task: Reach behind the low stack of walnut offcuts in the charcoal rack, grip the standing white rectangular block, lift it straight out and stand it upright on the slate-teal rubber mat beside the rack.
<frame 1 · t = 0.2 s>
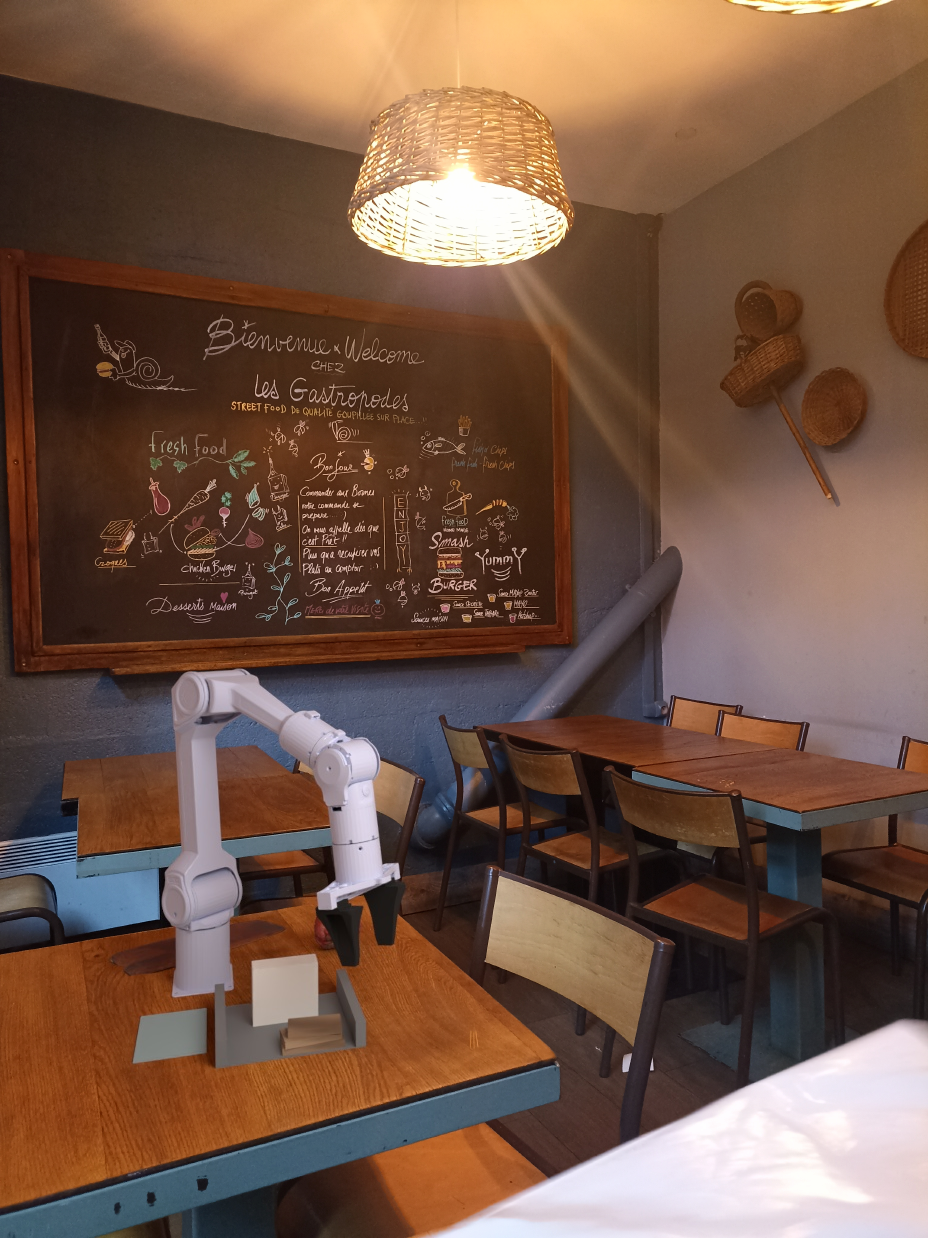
hand: (368, 955, 103), 10 cm above the table, tool pointing down, fingers open, 7 cm apart
wooden tablet: (203, 950, 135), on the table
mat: (172, 1038, 104), on the table
rack: (286, 1030, 106), on the table
offcut stack: (312, 1043, 101), resting on rack
white rectangular block: (284, 1017, 108), resting on rack
rotten apple: (338, 950, 133), on the table
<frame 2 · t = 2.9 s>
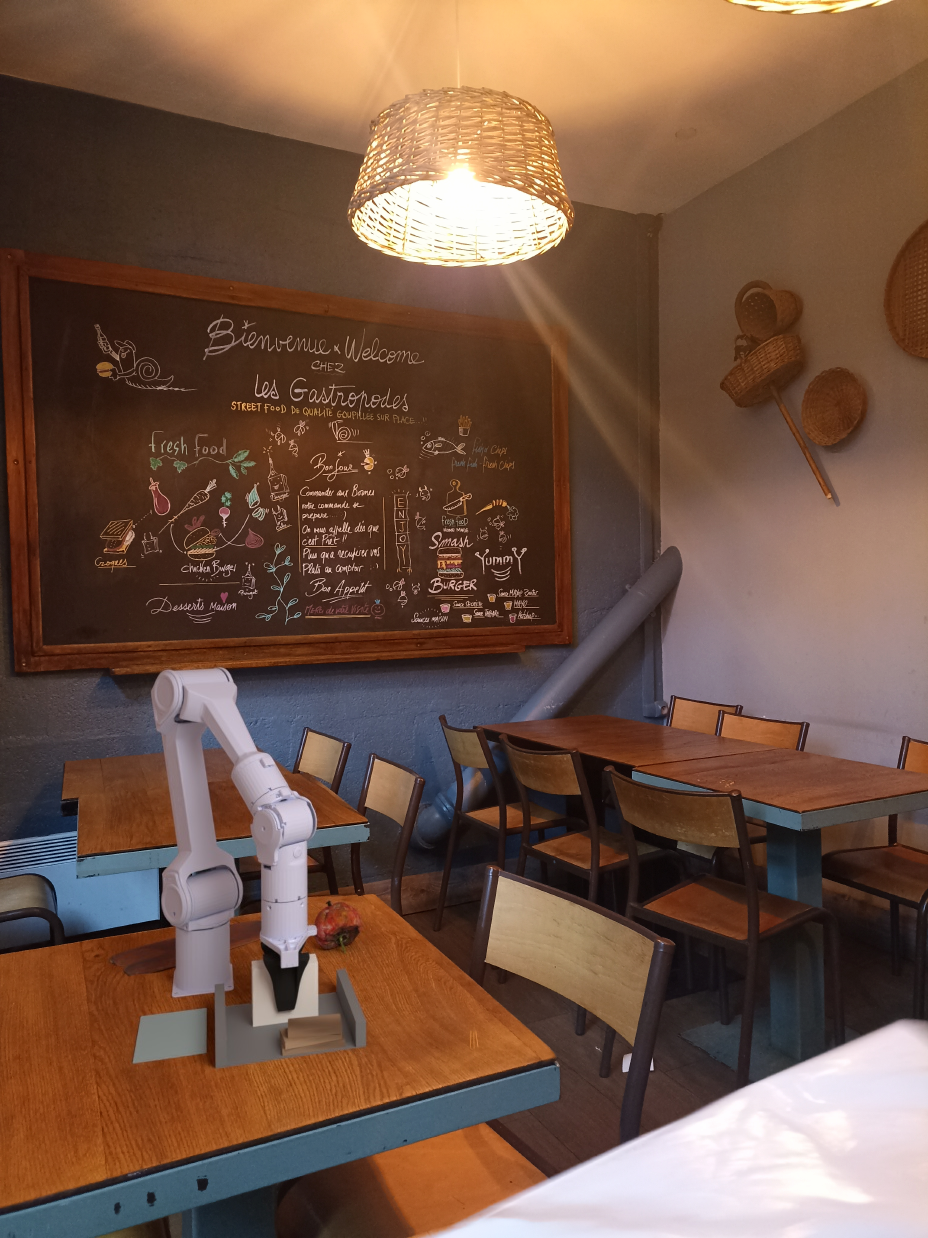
hand: (284, 1003, 108), 2 cm above the table, tool pointing down, fingers closed on white rectangular block, 3 cm apart
white rectangular block: (285, 1017, 108), resting on rack, touching gripper
everything else where it was.
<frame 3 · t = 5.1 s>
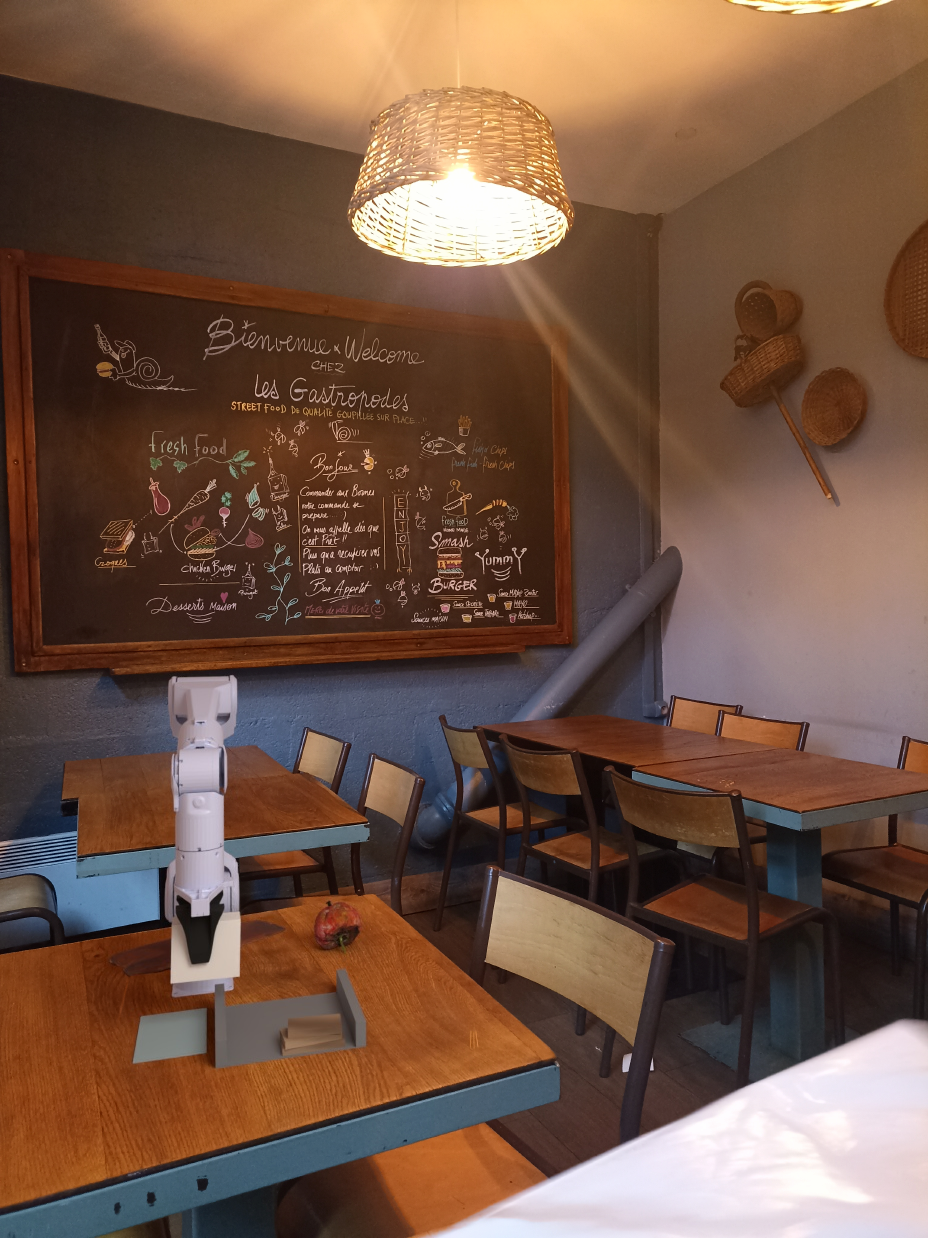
hand: (200, 957, 105), 9 cm above the table, tool pointing down, fingers closed on white rectangular block, 3 cm apart
white rectangular block: (205, 975, 105), point 7 cm above the table, touching gripper
everything else where it was.
when the fingers open (3 cm above the table, at t = 7.3 s): white rectangular block stays where it is, resting on mat.
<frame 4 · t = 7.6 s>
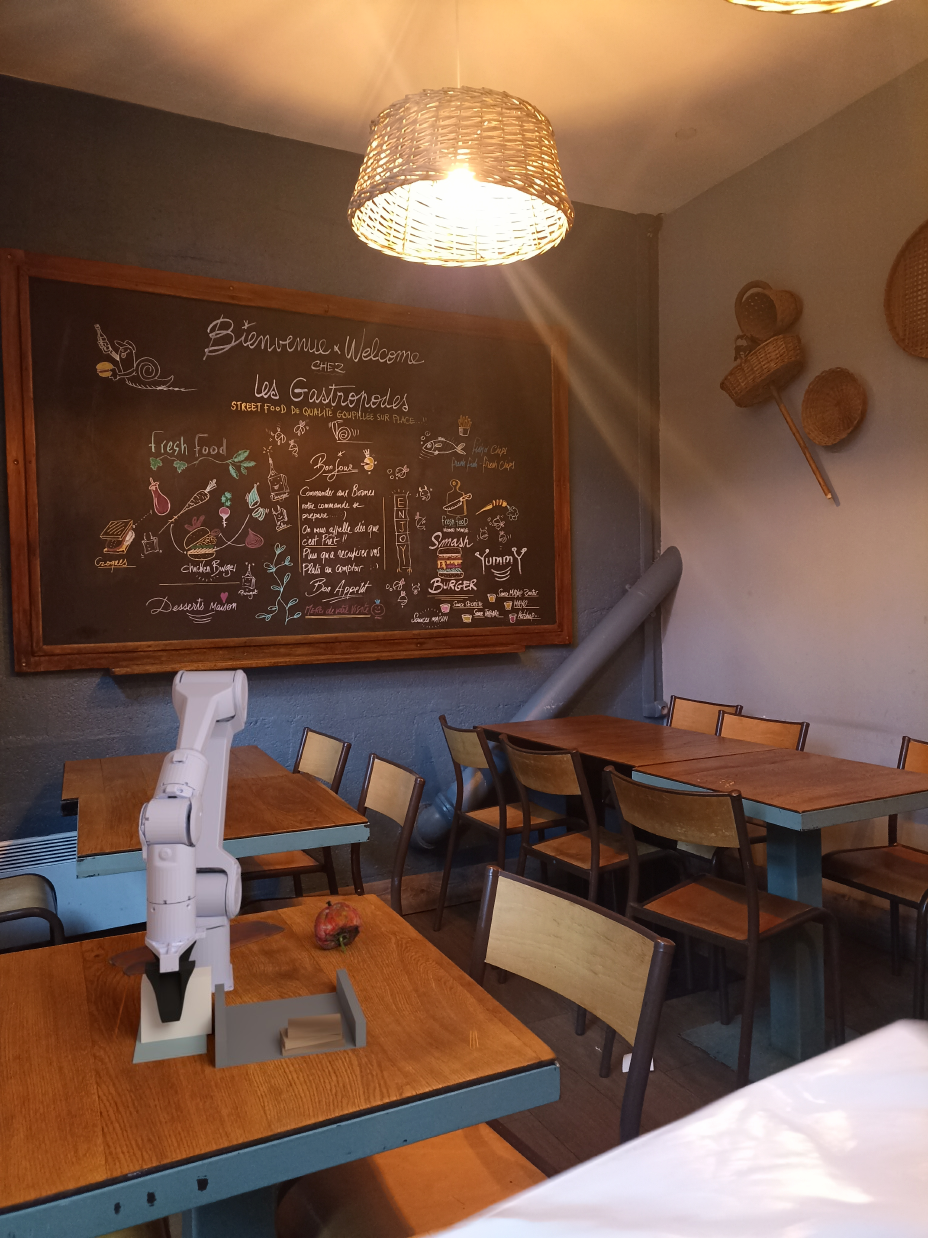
hand: (172, 1009, 104), 4 cm above the table, tool pointing down, fingers open, 6 cm apart
white rectangular block: (177, 1032, 104), point 1 cm above the table, touching mat
everything else where it was.
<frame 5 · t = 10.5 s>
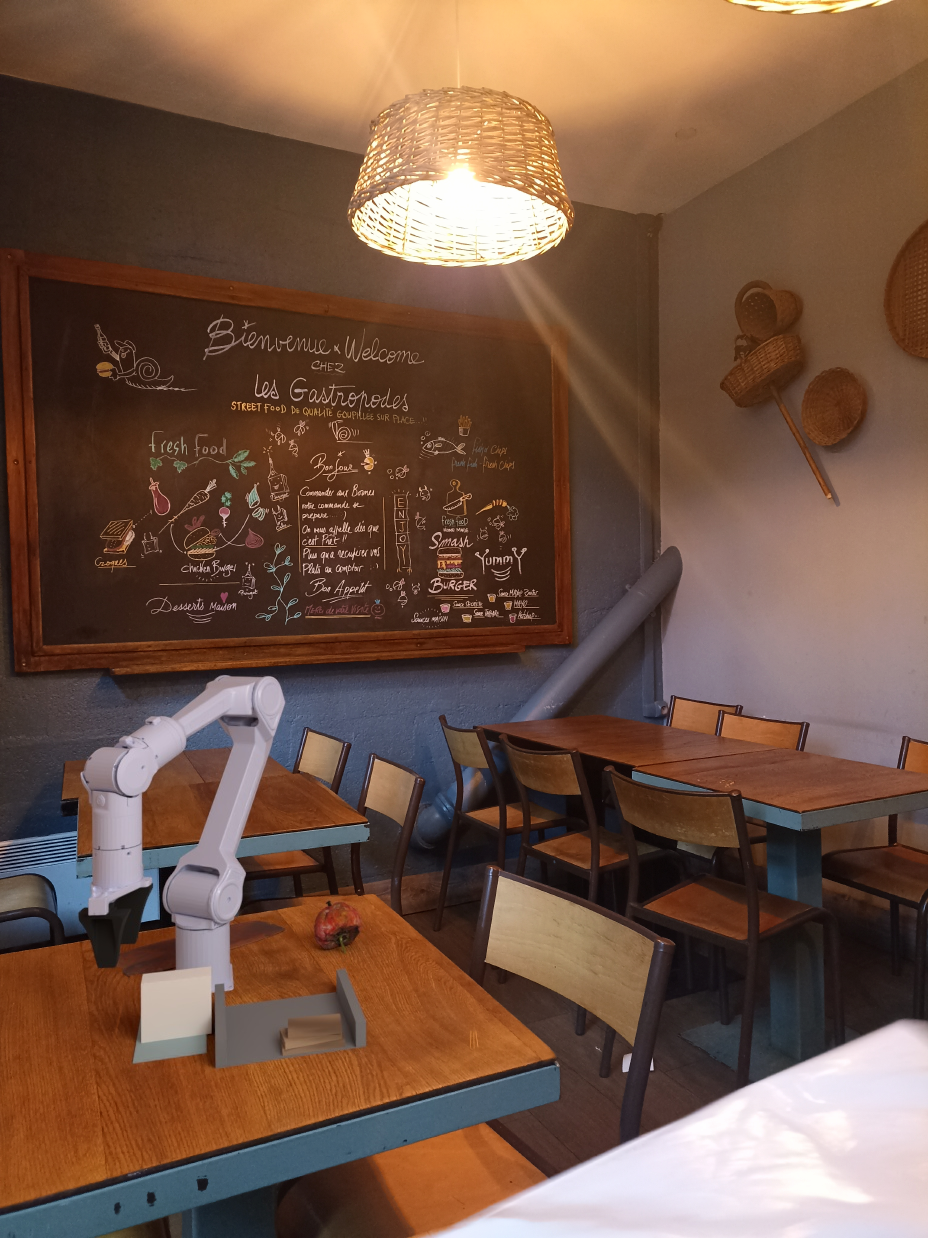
hand: (117, 954, 106), 9 cm above the table, tool pointing down, fingers open, 7 cm apart
nothing on the table moved.
at the end: white rectangular block inside the target area (0.9 cm from its centre), point 0.6 cm above the table; white rectangular block tilted 0°; offcut stack moved 0.0 cm from its start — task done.
